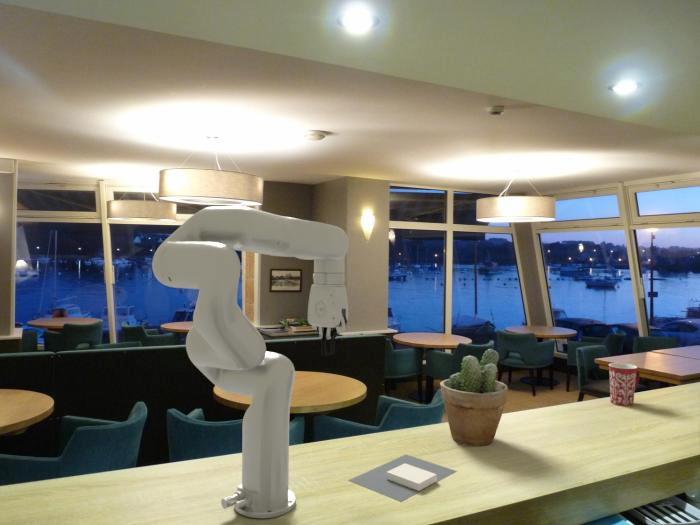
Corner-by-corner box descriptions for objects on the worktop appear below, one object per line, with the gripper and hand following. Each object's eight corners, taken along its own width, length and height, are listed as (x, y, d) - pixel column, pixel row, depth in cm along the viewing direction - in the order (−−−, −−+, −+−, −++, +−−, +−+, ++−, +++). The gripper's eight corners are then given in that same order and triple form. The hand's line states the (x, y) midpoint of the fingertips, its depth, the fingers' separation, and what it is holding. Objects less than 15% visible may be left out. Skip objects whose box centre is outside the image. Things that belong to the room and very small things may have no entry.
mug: (623, 408, 186) (624, 369, 186) (601, 401, 195) (602, 363, 194) (649, 404, 191) (650, 366, 191) (627, 397, 200) (628, 361, 199)
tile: (386, 479, 125) (418, 491, 119) (386, 471, 125) (418, 483, 119) (404, 470, 130) (436, 481, 124) (404, 463, 130) (436, 474, 124)
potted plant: (496, 456, 141) (498, 360, 140) (428, 443, 150) (430, 352, 149) (513, 436, 157) (515, 349, 156) (451, 424, 166) (453, 343, 165)
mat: (401, 503, 114) (401, 501, 114) (348, 482, 124) (348, 480, 124) (456, 472, 130) (456, 471, 130) (405, 455, 140) (405, 454, 140)
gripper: (297, 278, 136) (296, 352, 136) (340, 282, 125) (339, 361, 126) (318, 278, 141) (317, 348, 142) (362, 281, 131) (360, 357, 132)
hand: (328, 354), depth 134 cm, fingers closed
